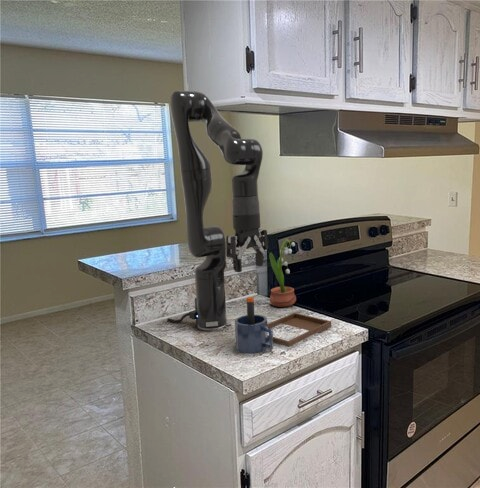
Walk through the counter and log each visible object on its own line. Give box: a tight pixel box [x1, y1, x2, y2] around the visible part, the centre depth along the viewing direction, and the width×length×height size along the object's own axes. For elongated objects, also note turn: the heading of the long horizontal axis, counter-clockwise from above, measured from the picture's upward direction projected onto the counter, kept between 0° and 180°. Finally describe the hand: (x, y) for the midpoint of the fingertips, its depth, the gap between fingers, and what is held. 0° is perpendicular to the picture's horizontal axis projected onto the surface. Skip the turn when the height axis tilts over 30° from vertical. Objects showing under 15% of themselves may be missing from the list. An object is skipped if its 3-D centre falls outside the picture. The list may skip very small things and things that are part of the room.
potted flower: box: [268, 238, 297, 308], centre depth 183 cm, size 12×10×25 cm
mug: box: [234, 314, 274, 355], centre depth 142 cm, size 13×9×9 cm
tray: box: [267, 312, 332, 348], centre depth 157 cm, size 16×22×2 cm
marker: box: [246, 296, 255, 325], centre depth 142 cm, size 2×2×15 cm
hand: (248, 268), depth 140 cm, fingers open, 8 cm apart
